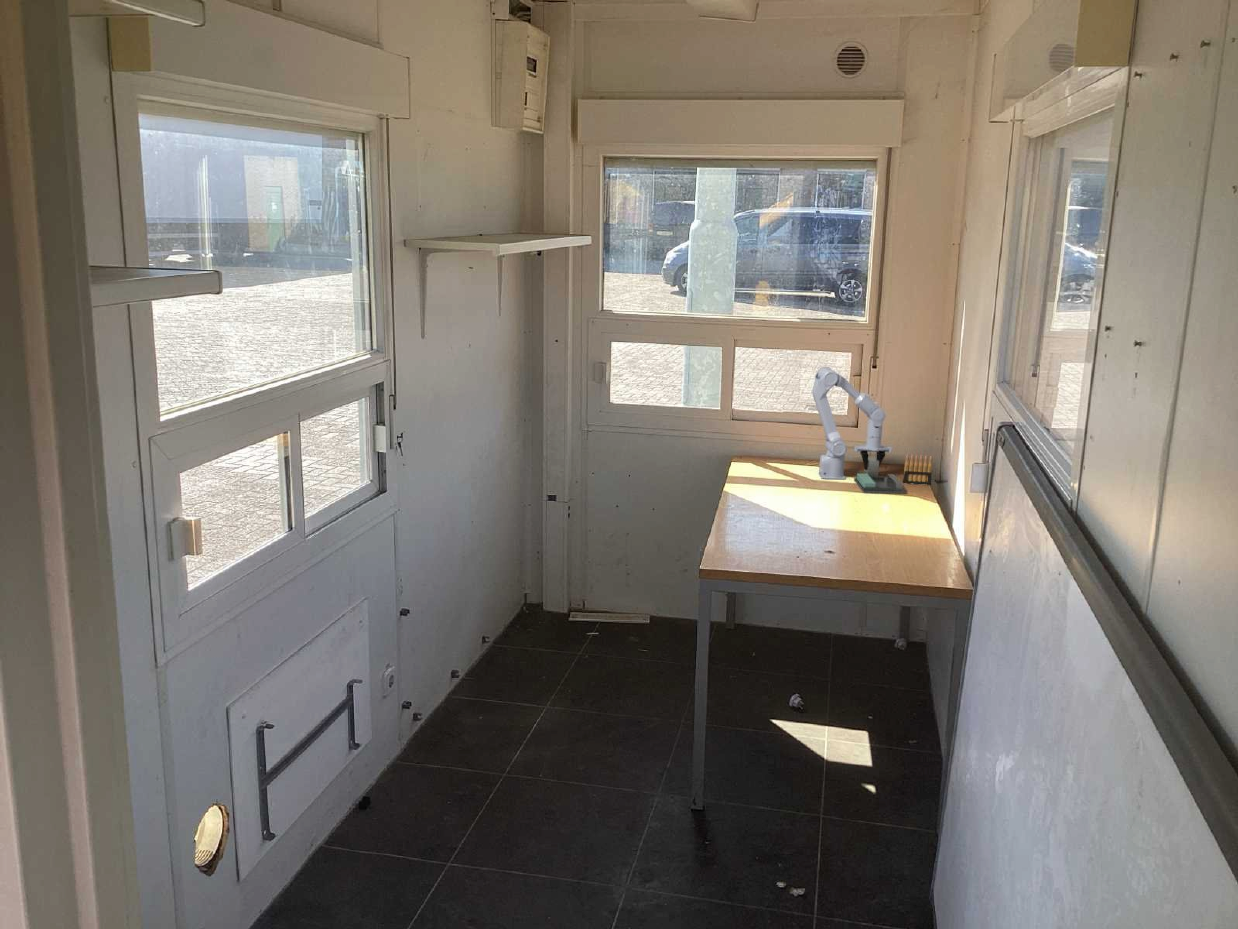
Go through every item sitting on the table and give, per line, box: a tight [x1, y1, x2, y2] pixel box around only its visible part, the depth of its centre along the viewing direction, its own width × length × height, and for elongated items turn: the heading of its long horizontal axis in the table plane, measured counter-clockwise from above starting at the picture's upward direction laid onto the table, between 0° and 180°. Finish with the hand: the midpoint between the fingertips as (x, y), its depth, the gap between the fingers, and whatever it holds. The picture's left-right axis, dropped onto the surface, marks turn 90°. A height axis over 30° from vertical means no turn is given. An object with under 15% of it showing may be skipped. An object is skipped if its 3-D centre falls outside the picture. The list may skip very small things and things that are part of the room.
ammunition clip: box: [902, 453, 933, 486], centre depth 422 cm, size 11×2×12 cm, turn 81°
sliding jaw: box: [856, 473, 875, 488], centre depth 417 cm, size 4×14×2 cm, turn 0°
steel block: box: [863, 456, 880, 476], centre depth 431 cm, size 4×7×6 cm, turn 0°
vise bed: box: [853, 473, 907, 495], centre depth 417 cm, size 16×18×3 cm
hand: (871, 469), depth 432 cm, fingers closed on steel block, 4 cm apart
